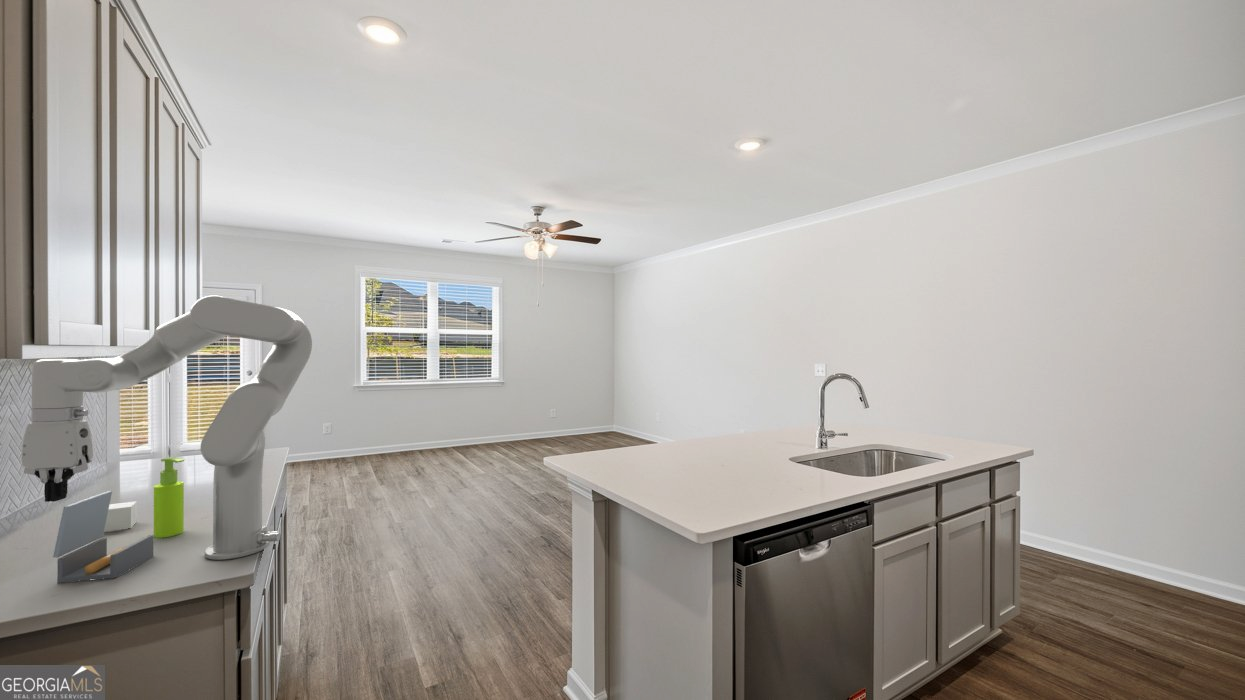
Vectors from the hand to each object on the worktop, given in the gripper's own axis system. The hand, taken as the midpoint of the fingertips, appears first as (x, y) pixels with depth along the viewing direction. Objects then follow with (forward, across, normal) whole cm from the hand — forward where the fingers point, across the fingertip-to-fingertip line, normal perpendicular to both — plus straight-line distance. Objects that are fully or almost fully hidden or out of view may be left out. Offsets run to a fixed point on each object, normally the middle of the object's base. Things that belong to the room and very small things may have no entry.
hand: (55, 499), depth 111 cm
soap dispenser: (+16, -9, -22) cm, 29 cm away
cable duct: (+16, -10, 0) cm, 19 cm away
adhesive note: (+16, +8, -31) cm, 36 cm away
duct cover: (+5, -6, 0) cm, 8 cm away
